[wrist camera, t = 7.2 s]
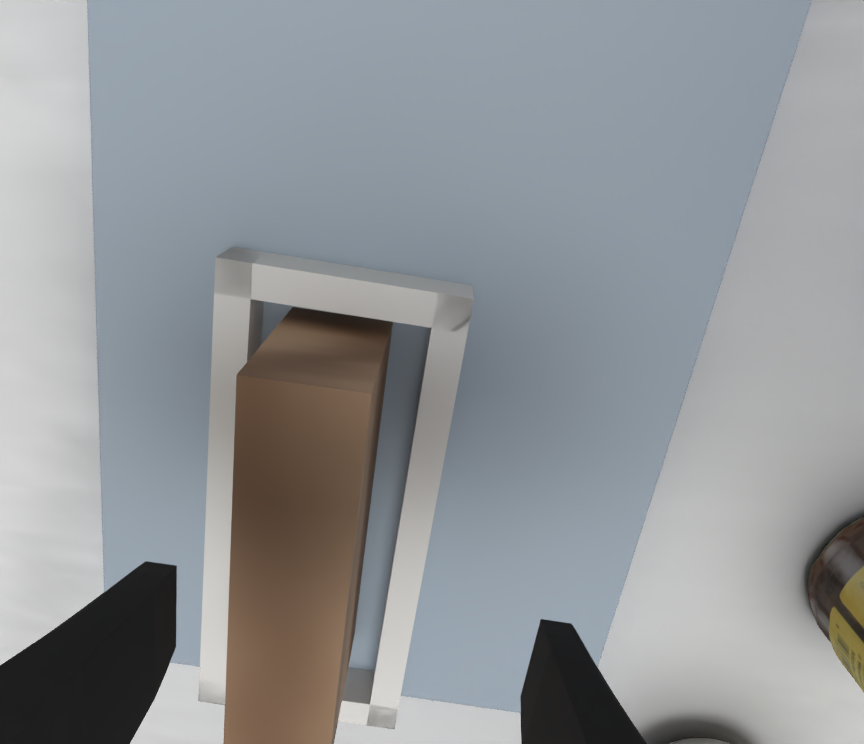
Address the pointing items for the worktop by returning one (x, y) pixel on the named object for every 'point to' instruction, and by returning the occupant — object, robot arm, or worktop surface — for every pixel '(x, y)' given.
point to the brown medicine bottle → (842, 596)
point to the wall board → (421, 289)
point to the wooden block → (300, 522)
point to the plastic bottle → (699, 741)
